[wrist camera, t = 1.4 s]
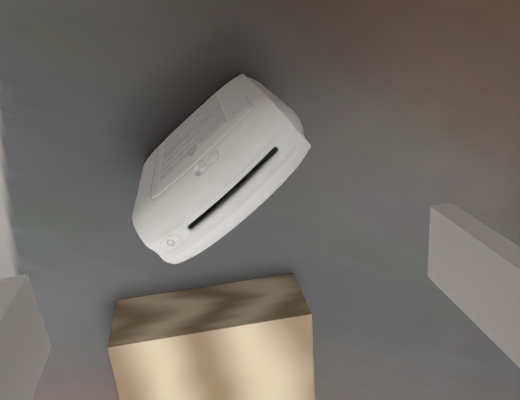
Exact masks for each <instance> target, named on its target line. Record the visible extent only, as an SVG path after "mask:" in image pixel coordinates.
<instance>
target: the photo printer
mask: <svg viewBox="0 0 520 400" xmlns="http://www.w3.org/2000/svg"><path fill="white" fill-rule="evenodd" d="M310 147H311V145H310V144H309V142H308V141H307V140H306V139H305V137H304V131H303V127H302V124H301V121H300V120H299V118H298V116H297V115H296V114H295V112H294V111H293V110H292V109H291V108H290V107H288V106H287V105H286V104H285V103H284V102H282V101H281V100H280V99H279V98H278V97H276V96H275V95H274V94H273V93H272V92H271V91H269V90H268V89H267V88H266V87H265V86H263V85H262V84H261V83H260V82H258V81H256V80H254V79H252V78H248V77H246V76H245V75H244V74H241V75H239V76H237V77H236V78H234V79H232V80H231V81H229V82H228V83H227V84H225V85H224V86H223V87H222V88H221V89H219V90H218V91H217V92H216V93H215V94H214V95H212V96H211V97H210V98H209V99H208V100H207V101H206V102H205V103H204V104H202V105H201V106H200V107H199V108H198V109H197V110H196V111H195V112H194V113H193V114H191V115H190V116H189V117H188V118H187V119H186V120H185V121H184V122H183V123H182V124H181V125H180V126H179V127H177V128H176V129H175V130H174V131H173V132H172V133H171V134H170V135H169V136H168V137H167V138H166V139H165V140H164V141H163V142H162V143H161V144H160V145H159V146H158V147H157V148H156V149H155V150H154V151H153V153H152V154H151V155H150V156H149V158H148V159H147V161H146V162H145V164H144V166H143V170H142V175H141V180H140V184H139V188H138V193H137V197H136V201H135V206H134V210H133V214H132V220H133V224H134V227H135V229H136V231H137V233H138V235H139V237H140V238H141V240H142V241H143V243H144V244H145V245H146V246H147V247H148V248H150V249H152V250H154V251H155V252H156V253H157V254H158V255H159V256H160V257H161V258H162V259H163V260H164V261H166V262H168V263H172V264H178V263H180V262H183V261H185V260H187V259H189V258H191V257H193V256H195V255H197V254H199V253H200V252H202V251H203V250H205V249H206V248H208V247H210V246H211V245H212V244H214V243H215V242H216V241H218V240H219V239H220V238H222V237H223V236H224V235H226V234H227V233H228V232H230V231H231V230H232V229H233V228H235V227H236V226H237V225H238V224H239V223H240V222H242V221H243V220H244V219H245V218H246V217H248V216H249V215H250V214H251V213H252V212H253V211H254V210H255V209H256V208H258V207H259V206H260V205H261V204H262V203H263V202H264V201H265V200H266V199H267V198H268V197H269V196H270V195H271V194H272V193H273V192H274V191H276V190H277V189H278V188H279V187H280V186H281V185H282V183H283V182H284V181H285V180H286V179H287V178H288V177H289V176H290V175H291V174H292V173H293V172H294V170H295V169H296V168H297V167H298V165H299V164H300V163H301V161H302V160H303V159H304V157H305V155H306V154H307V152H308V151H309V149H310Z"/></svg>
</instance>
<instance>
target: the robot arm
mask: <svg viewBox="0 0 520 400" xmlns="http://www.w3.org/2000/svg"><path fill="white" fill-rule="evenodd" d="M428 277H429V278H430V279H431V280H432V281H433V282H434V283H435V284H436V285H437V286H438V287H439V288H440V289H441V290H442V291H443V292H444V293H445V294H446V295H447V296H448V297H449V298H450V299H451V300H452V301H453V302H454V303H455V304H456V305H457V306H458V307H459V308H460V309H461V310H462V311H463V312H464V313H465V314H466V315H467V316H468V317H469V318H470V319H471V320H472V321H473V322H474V323H475V324H476V325H477V326H478V327H479V328H480V329H481V330H482V331H483V332H484V333H485V334H486V335H487V336H488V337H489V338H490V339H491V340H492V341H493V342H494V343H495V344H496V345H497V346H498V347H499V348H500V349H501V350H502V351H503V352H504V353H505V354H506V355H507V356H508V357H509V358H510V359H511V360H512V361H513V362H514V363H515V364H516V365H517V366H518V367H519V368H520V247H519V246H517V245H516V244H514V243H513V242H511V241H510V240H508V239H507V238H505V237H503V236H502V235H500V234H499V233H497V232H496V231H494V230H493V229H491V228H490V227H488V226H486V225H485V224H483V223H482V222H480V221H479V220H477V219H476V218H474V217H473V216H471V215H469V214H468V213H466V212H465V211H463V210H462V209H460V208H459V207H457V206H455V205H454V204H452V203H447V204H441V205H436V206H430V230H429V254H428ZM51 348H52V347H51V344H50V341H49V338H48V335H47V332H46V329H45V326H44V323H43V320H42V317H41V314H40V311H39V308H38V305H37V302H36V298H35V295H34V292H33V289H32V286H31V283H30V280H29V277H28V274H26V275H21V276H15V277H9V278H3V279H1V280H0V400H32V399H33V396H34V394H35V391H36V388H37V385H38V383H39V380H40V377H41V375H42V372H43V369H44V367H45V364H46V361H47V358H48V356H49V353H50V350H51Z"/></svg>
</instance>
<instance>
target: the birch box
mask: <svg viewBox="0 0 520 400" xmlns="http://www.w3.org/2000/svg"><path fill="white" fill-rule="evenodd" d="M108 352H109V356H110V360H111V365H112V369H113V373H114V377H115V381H116V385H117V390H118V394H119V398H120V400H315V391H314V362H313V334H312V313H311V311H310V309H309V307H308V305H307V303H306V301H305V298H304V296H303V294H302V292H301V290H300V288H299V285H298V283H297V281H296V279H295V277H294V275H293V273H292V274H286V275H279V276H273V277H266V278H260V279H253V280H247V281H240V282H233V283H227V284H220V285H214V286H207V287H201V288H194V289H188V290H181V291H175V292H168V293H162V294H155V295H149V296H142V297H135V298H129V299H122V300H117V304H116V309H115V314H114V318H113V323H112V328H111V333H110V338H109V343H108Z"/></svg>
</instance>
